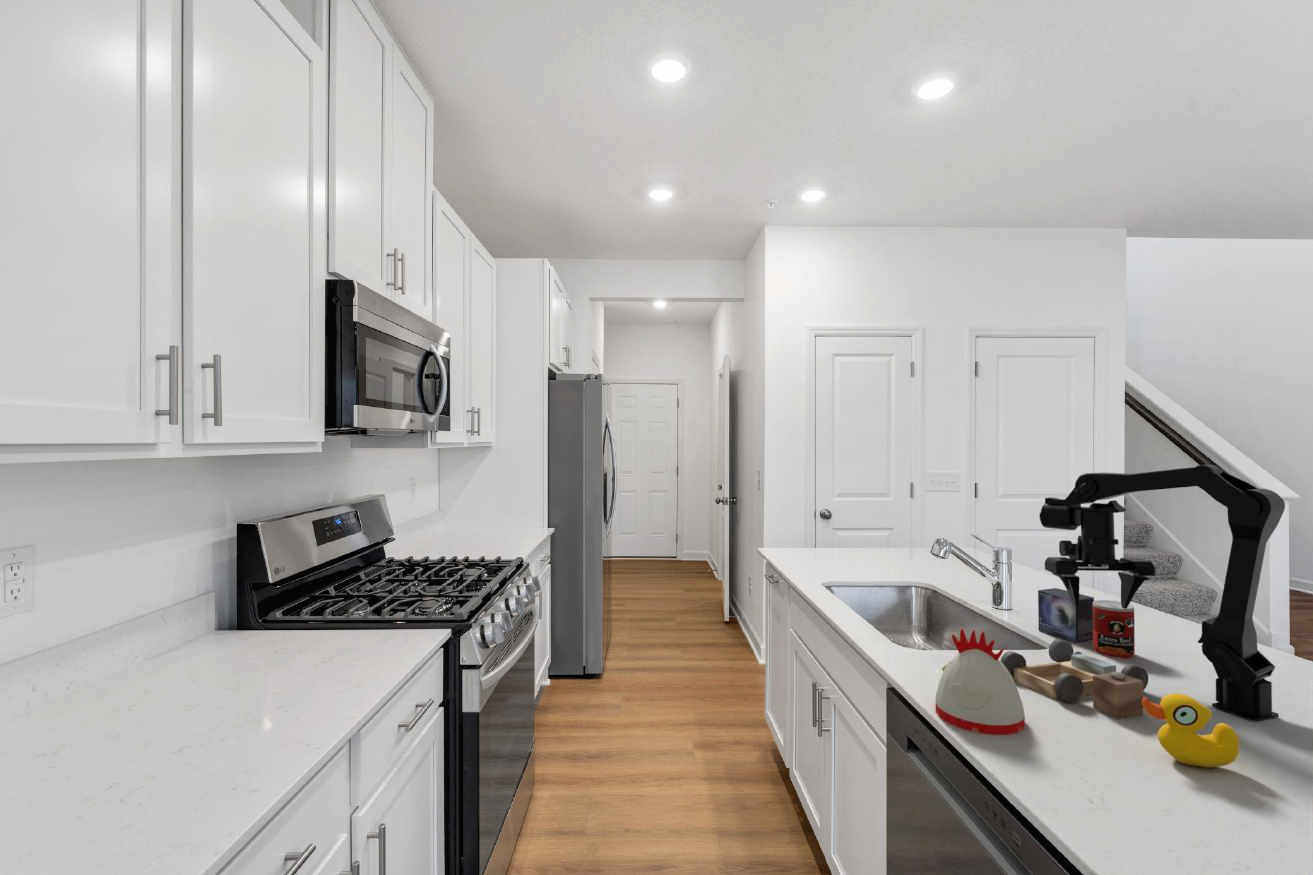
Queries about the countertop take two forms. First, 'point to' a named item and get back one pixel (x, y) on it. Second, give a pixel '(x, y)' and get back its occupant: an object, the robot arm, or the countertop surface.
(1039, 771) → the countertop surface
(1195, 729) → the duckling
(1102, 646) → the canned food
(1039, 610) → the small box
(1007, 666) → the chassis
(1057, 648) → the wheel
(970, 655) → the kitchen timer
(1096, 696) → the block
